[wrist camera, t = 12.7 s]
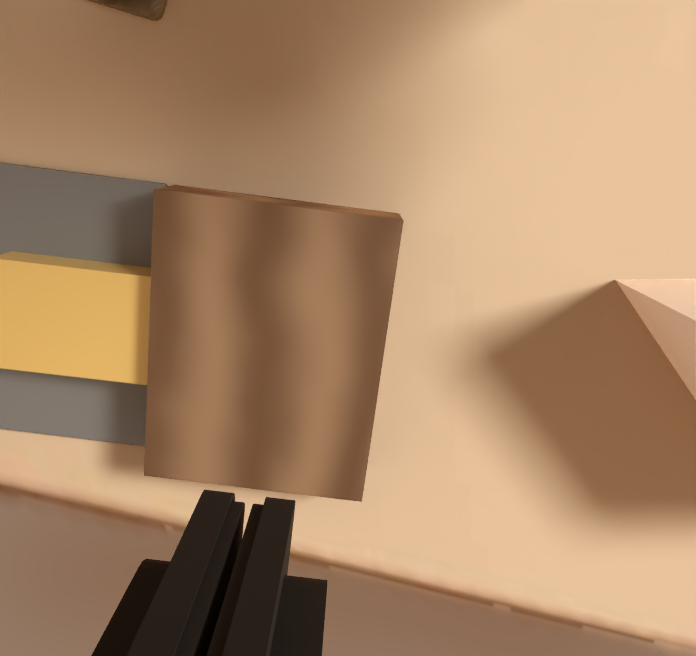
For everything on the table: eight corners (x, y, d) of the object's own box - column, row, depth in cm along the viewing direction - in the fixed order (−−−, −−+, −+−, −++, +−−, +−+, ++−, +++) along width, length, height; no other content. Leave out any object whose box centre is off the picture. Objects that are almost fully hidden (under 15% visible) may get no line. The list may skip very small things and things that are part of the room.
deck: (399, 213, 38) (403, 220, 34) (361, 470, 43) (361, 501, 39) (174, 184, 38) (153, 188, 34) (163, 446, 43) (144, 475, 39)
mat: (166, 184, 38) (165, 184, 37) (156, 445, 43) (154, 447, 42) (-28, 159, 38) (-31, 159, 37) (-15, 424, 43) (-18, 426, 42)
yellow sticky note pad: (168, 269, 39) (155, 277, 37) (165, 372, 41) (152, 385, 39) (12, 251, 39) (-12, 257, 36) (16, 354, 41) (-6, 367, 38)
